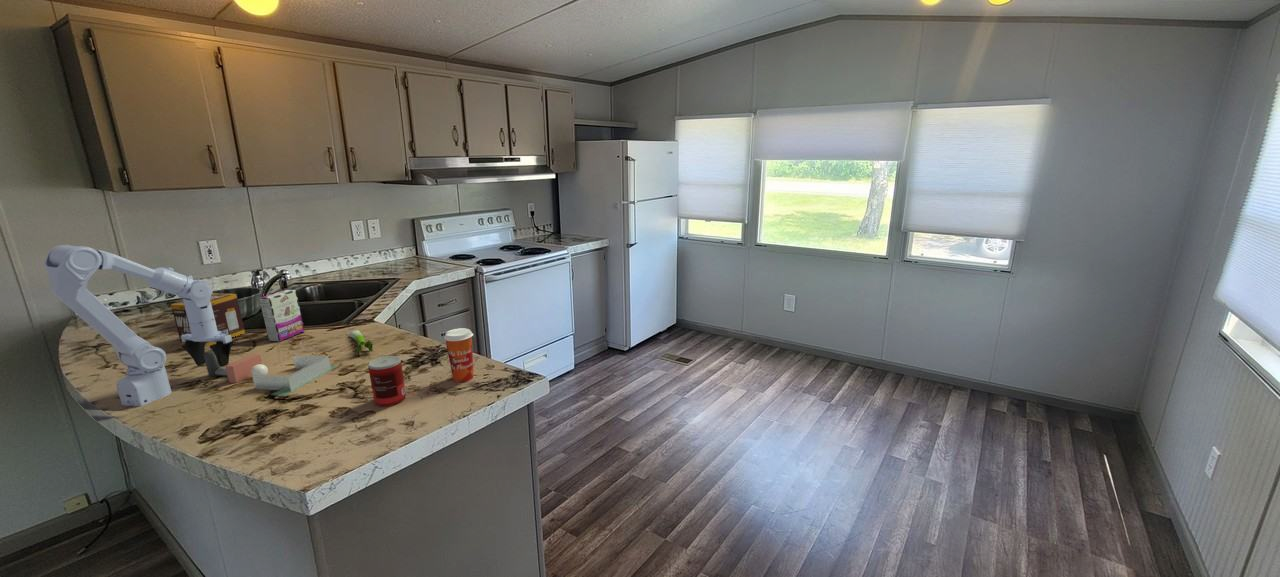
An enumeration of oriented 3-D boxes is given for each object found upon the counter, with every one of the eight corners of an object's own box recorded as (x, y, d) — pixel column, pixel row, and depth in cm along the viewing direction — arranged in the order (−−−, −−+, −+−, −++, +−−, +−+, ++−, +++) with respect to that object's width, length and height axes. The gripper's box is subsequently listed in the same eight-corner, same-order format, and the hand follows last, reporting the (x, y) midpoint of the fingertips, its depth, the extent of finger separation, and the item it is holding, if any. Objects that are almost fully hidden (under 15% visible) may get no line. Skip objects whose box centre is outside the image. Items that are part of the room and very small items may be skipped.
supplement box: (180, 347, 178) (169, 304, 174) (222, 332, 193) (212, 292, 189) (206, 348, 176) (195, 304, 173) (245, 333, 191) (236, 293, 187)
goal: (291, 391, 138) (288, 377, 137) (255, 389, 140) (252, 376, 139) (330, 369, 153) (328, 356, 152) (298, 367, 154) (295, 355, 153)
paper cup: (448, 385, 142) (442, 337, 139) (450, 374, 149) (444, 329, 146) (477, 381, 144) (472, 334, 141) (478, 371, 151) (473, 326, 148)
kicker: (236, 382, 144) (231, 359, 142) (196, 381, 146) (190, 358, 144) (263, 369, 152) (258, 348, 151) (225, 368, 154) (219, 346, 153)
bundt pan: (279, 313, 216) (275, 290, 213) (204, 332, 194) (197, 307, 191) (250, 305, 229) (245, 284, 226) (175, 322, 207) (169, 298, 204)
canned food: (397, 390, 139) (391, 353, 137) (412, 398, 134) (406, 360, 132) (368, 401, 134) (362, 362, 131) (382, 410, 129) (376, 369, 126)
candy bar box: (294, 331, 192) (285, 289, 188) (305, 332, 191) (297, 289, 187) (267, 341, 181) (257, 297, 177) (279, 342, 180) (269, 297, 176)
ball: (261, 380, 146) (258, 367, 145) (248, 380, 146) (245, 367, 145) (272, 374, 149) (269, 362, 148) (260, 374, 150) (257, 361, 149)
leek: (366, 338, 188) (379, 356, 164) (345, 345, 185) (356, 364, 160) (361, 323, 187) (373, 338, 162) (340, 329, 183) (349, 346, 159)
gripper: (236, 317, 148) (246, 360, 152) (193, 316, 150) (204, 359, 154) (214, 324, 142) (225, 370, 145) (169, 323, 144) (181, 368, 147)
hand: (213, 365), depth 149 cm, fingers open, 7 cm apart
